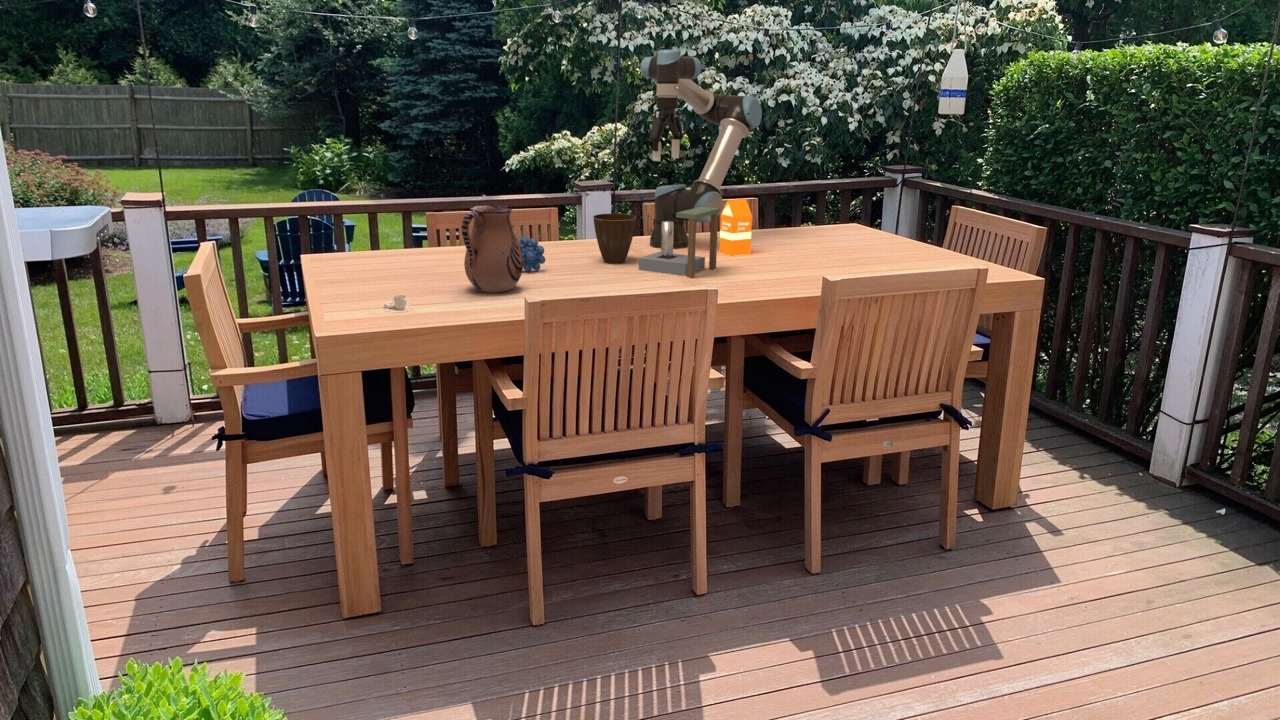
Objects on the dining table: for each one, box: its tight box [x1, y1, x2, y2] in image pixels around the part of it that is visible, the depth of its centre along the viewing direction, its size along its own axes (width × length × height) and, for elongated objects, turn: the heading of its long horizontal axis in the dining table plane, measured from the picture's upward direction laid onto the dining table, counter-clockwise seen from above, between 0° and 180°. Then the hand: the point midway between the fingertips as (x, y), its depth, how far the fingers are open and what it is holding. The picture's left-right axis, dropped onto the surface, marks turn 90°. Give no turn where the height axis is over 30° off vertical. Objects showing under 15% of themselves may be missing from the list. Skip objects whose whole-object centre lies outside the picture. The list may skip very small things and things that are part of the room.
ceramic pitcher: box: [461, 204, 524, 294], centre depth 276 cm, size 18×21×25 cm
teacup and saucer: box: [383, 294, 415, 313], centre depth 257 cm, size 9×8×4 cm
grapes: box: [518, 235, 547, 273], centre depth 305 cm, size 12×7×12 cm, turn 110°
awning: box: [676, 207, 721, 279], centre depth 306 cm, size 7×18×21 cm, turn 149°
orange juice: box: [718, 198, 753, 257], centre depth 340 cm, size 8×9×20 cm
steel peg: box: [660, 221, 674, 259], centre depth 313 cm, size 4×4×16 cm
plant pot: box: [592, 213, 637, 265], centre depth 323 cm, size 15×15×16 cm
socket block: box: [638, 251, 706, 277], centre depth 313 cm, size 18×14×4 cm
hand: (666, 159), depth 325 cm, fingers open, 13 cm apart
